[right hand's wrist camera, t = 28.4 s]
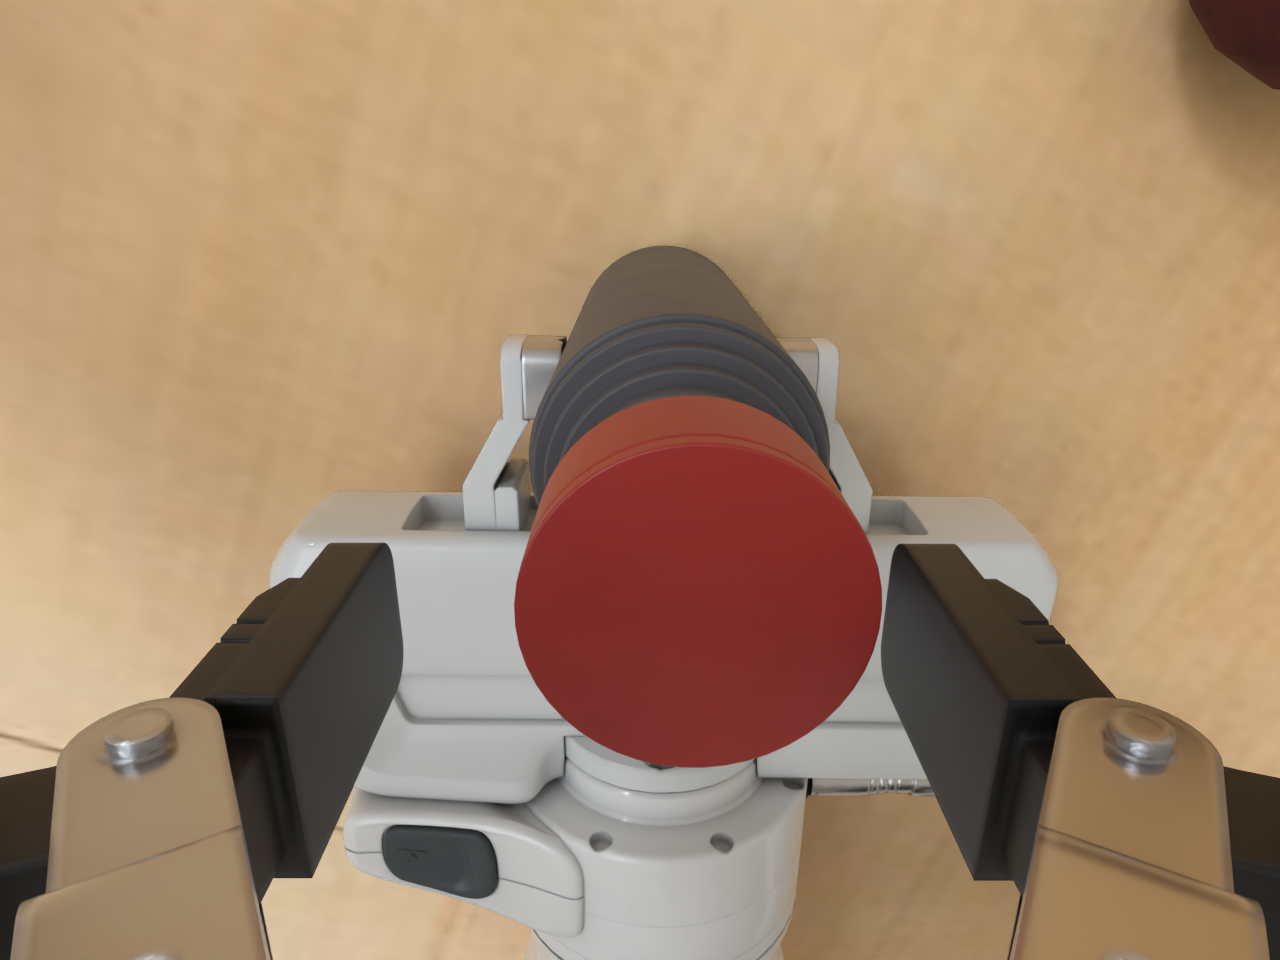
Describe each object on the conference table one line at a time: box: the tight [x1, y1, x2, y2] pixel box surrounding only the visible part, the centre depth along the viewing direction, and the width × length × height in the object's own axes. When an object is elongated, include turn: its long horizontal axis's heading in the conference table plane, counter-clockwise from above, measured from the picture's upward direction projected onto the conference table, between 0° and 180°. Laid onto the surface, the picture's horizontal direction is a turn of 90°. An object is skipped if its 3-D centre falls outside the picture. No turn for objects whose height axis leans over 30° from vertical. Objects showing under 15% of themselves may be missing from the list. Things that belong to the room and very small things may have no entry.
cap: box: [514, 396, 882, 768], centre depth 11 cm, size 4×4×2 cm
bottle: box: [529, 246, 830, 507], centre depth 18 cm, size 5×5×17 cm
